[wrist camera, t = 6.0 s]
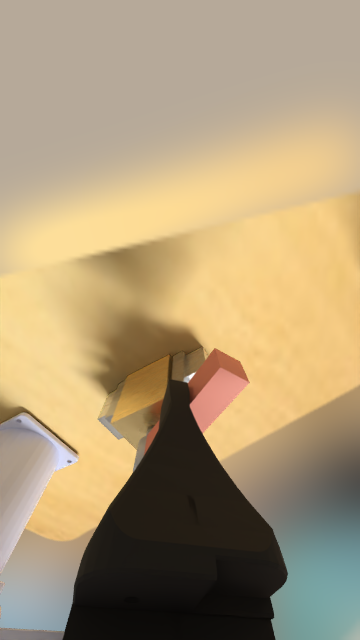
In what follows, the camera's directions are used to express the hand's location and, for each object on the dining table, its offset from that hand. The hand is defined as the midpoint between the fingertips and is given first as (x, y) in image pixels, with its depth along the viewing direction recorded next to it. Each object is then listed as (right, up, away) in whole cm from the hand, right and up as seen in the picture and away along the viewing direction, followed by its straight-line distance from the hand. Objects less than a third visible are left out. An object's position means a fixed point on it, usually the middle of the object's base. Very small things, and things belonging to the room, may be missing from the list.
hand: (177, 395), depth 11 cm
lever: (0, -1, +1) cm, 2 cm away
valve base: (-1, -2, +8) cm, 8 cm away
